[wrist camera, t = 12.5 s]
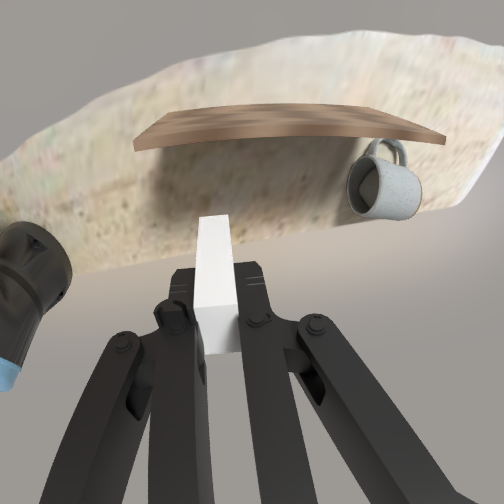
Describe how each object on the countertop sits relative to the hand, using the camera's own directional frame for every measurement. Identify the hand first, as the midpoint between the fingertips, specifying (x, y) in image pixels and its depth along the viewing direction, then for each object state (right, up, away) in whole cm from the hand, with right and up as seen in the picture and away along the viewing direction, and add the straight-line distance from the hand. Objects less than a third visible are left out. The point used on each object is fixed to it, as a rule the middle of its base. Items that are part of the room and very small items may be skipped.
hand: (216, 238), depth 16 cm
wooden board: (+4, +16, +15) cm, 22 cm away
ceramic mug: (+18, +10, +20) cm, 30 cm away
